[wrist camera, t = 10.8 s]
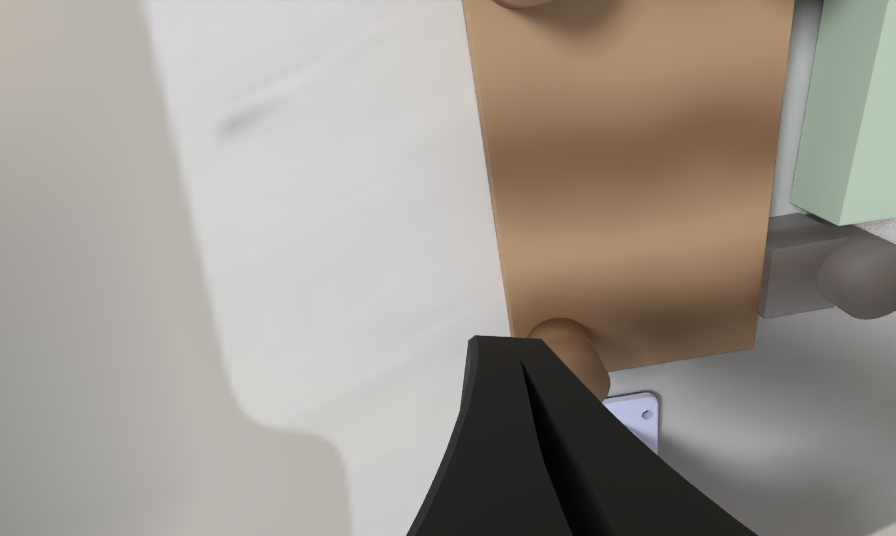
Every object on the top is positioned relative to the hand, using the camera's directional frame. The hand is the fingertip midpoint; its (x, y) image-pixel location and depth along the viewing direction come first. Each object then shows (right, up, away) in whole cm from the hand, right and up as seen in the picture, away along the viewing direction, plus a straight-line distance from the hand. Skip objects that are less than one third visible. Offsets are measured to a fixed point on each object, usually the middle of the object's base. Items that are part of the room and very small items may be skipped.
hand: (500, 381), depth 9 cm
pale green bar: (+12, +9, +7) cm, 17 cm away
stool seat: (+7, +7, +8) cm, 13 cm away
